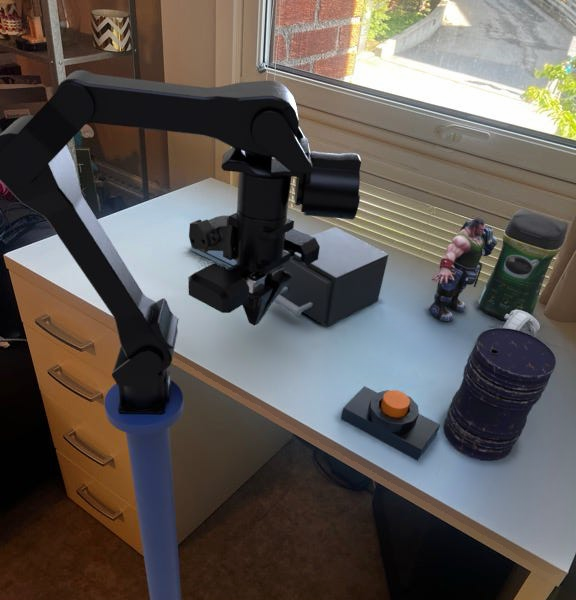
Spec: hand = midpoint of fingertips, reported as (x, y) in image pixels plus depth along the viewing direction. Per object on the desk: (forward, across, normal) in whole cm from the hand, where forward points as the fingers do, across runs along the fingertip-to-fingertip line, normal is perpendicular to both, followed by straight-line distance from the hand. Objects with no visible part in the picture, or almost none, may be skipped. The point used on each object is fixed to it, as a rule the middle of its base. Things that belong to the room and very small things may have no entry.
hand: (253, 323), depth 73 cm
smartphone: (+12, -27, -27) cm, 40 cm away
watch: (+11, -30, +27) cm, 42 cm away
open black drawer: (+11, -25, -6) cm, 28 cm away
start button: (+8, -7, +19) cm, 22 cm away
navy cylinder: (+12, -14, +30) cm, 35 cm away
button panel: (+12, -7, +19) cm, 24 cm away
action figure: (+12, -41, +14) cm, 45 cm away
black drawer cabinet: (+12, -29, -5) cm, 32 cm away
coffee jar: (+11, -49, +21) cm, 55 cm away
